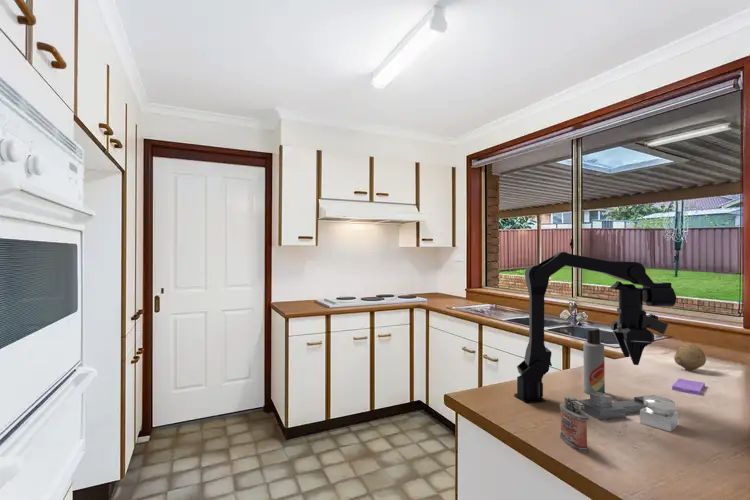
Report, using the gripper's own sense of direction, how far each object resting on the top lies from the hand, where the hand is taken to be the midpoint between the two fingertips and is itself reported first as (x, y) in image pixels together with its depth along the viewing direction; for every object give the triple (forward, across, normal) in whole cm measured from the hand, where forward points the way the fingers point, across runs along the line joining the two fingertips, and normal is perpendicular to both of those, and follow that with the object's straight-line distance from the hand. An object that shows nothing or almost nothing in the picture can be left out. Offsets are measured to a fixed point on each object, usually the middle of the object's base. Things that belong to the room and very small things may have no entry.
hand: (631, 360), depth 110 cm
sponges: (+14, +25, -22) cm, 36 cm away
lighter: (+13, -31, +19) cm, 39 cm away
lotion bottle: (+13, +9, +8) cm, 17 cm away
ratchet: (+13, -5, +3) cm, 14 cm away
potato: (+13, +49, -31) cm, 60 cm away
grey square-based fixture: (+13, -12, -3) cm, 17 cm away
